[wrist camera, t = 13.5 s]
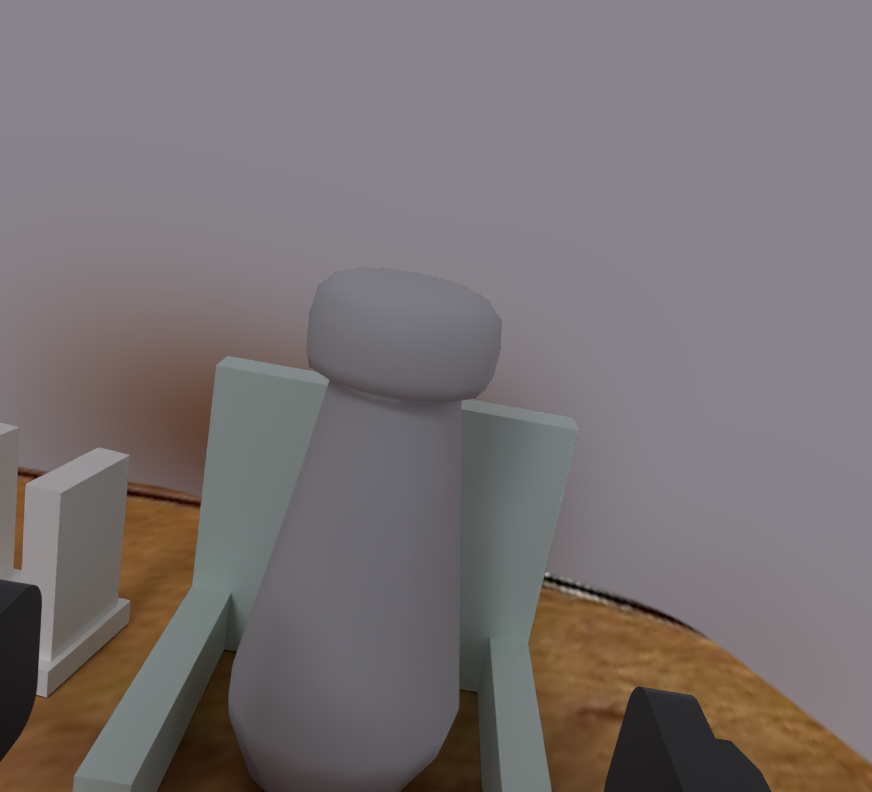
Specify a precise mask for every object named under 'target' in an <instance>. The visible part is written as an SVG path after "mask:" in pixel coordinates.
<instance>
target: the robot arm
mask: <svg viewBox="0 0 872 792" xmlns="http://www.w3.org/2000/svg"><path fill="white" fill-rule="evenodd" d="M41 612H42V595H41V591H40V589H39V587H38V586H36V585H31V584H25V583H19V582H13V581H7V580H1V579H0V762H1V760H2V759H3V758H4V756H5V755H6V754H7V752H8V751H9V750H10V748H11V747H12V746H13V744H14V743H15V742H16V740H17V739H18V737H19V736H20V734H21V733H22V731H23V729H24V727H25V725H26V723H27V721H28V719H29V716H30V714H31V711H32V708H33V705H34V701H35V697H36V692H37V684H38V667H39V648H40V630H41ZM604 792H771V790H770V788H769V786H768V784H767V783H766V781H765V779H764V777H763V775H762V773H761V771H760V770H759V769H758V768H757V767H756V766H755V765H754V764H753V763H752V762H751V761H750V760H749V759H748V758H747V757H746V756H745V755H744V754H743V753H742V752H741V751H740V750H739V749H738V748H737V747H736V746H735V745H734V744H733V743H732V742H731V741H728V740H722V739H716V738H715V737H714V735H713V733H712V730H711V728H710V726H709V724H708V722H707V720H706V718H705V716H704V714H703V711H702V709H701V707H700V705H699V703H698V701H697V700H696V698H695V697H694V696H692V695H687V694H681V693H675V692H669V691H663V690H657V689H651V688H645V687H636V688H635V689H634V690H633V692H632V694H631V696H630V698H629V701H628V705H627V708H626V712H625V715H624V719H623V722H622V726H621V729H620V733H619V736H618V740H617V743H616V747H615V750H614V754H613V757H612V761H611V764H610V768H609V771H608V775H607V779H606V783H605V789H604Z"/></svg>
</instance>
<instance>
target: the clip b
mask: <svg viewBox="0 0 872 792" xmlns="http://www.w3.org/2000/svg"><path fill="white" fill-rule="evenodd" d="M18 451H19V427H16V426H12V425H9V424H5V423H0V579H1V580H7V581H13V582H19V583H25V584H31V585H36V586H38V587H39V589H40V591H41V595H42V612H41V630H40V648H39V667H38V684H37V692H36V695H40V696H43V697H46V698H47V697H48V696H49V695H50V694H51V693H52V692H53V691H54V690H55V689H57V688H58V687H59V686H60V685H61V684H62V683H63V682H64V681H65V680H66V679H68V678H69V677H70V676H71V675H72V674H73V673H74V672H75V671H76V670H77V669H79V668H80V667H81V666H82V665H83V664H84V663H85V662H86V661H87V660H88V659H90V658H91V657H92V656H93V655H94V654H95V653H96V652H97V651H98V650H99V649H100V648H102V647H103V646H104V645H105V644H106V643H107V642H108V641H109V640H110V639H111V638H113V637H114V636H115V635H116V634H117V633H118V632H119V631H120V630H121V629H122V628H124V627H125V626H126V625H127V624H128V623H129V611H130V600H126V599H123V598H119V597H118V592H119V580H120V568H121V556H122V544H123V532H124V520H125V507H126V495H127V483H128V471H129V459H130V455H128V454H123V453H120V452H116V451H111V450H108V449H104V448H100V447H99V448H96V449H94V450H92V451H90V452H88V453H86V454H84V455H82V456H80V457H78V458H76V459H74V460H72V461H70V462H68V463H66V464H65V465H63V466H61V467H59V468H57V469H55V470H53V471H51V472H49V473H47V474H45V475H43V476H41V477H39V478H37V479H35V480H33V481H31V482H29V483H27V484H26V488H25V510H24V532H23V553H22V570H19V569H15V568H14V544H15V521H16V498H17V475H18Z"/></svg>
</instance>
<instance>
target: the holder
mask: <svg viewBox="0 0 872 792" xmlns="http://www.w3.org/2000/svg"><path fill="white" fill-rule="evenodd" d="M328 383H329V379H327V378H326V377H324V376H323V375H321V374H320V373H318V372H315V371H309V370H304V369H297V368H292V367H287V366H281V365H276V364H270V363H265V362H259V361H253V360H247V359H242V358H237V357H231V356H227V357H226V358H225V359H223V360H222V361H221V362H220V363H219V364H217V365H216V373H215V382H214V391H213V401H212V409H211V418H210V427H209V436H208V446H207V456H206V464H205V473H204V482H203V492H202V500H201V509H200V518H199V527H198V536H197V545H196V555H195V564H194V573H193V582H192V587H191V589H190V590H189V592H188V593H187V595H186V597H185V598H184V600H183V601H182V603H181V605H180V606H179V608H178V609H177V611H176V613H175V614H174V616H173V617H172V619H171V621H170V622H169V624H168V626H167V627H166V629H165V630H164V632H163V634H162V635H161V637H160V638H159V640H158V642H157V643H156V645H155V646H154V648H153V650H152V651H151V653H150V654H149V656H148V658H147V659H146V661H145V663H144V664H143V666H142V667H141V669H140V671H139V672H138V674H137V675H136V677H135V679H134V680H133V682H132V683H131V685H130V687H129V688H128V690H127V691H126V693H125V695H124V696H123V698H122V700H121V701H120V703H119V704H118V706H117V708H116V709H115V711H114V712H113V714H112V716H111V717H110V719H109V720H108V722H107V724H106V725H105V727H104V728H103V730H102V732H101V733H100V735H99V736H98V738H97V740H96V741H95V743H94V745H93V746H92V748H91V749H90V751H89V753H88V754H87V756H86V757H85V759H84V761H83V762H82V764H81V765H80V767H79V769H78V770H77V772H76V773H75V775H74V783H73V792H157V790H158V788H159V786H160V784H161V782H162V780H163V778H164V776H165V773H166V771H167V769H168V767H169V765H170V763H171V761H172V759H173V757H174V754H175V752H176V750H177V748H178V746H179V744H180V742H181V740H182V738H183V735H184V733H185V731H186V729H187V727H188V725H189V723H190V721H191V718H192V716H193V714H194V712H195V710H196V708H197V706H198V704H199V702H200V699H201V697H202V695H203V693H204V691H205V689H206V687H207V685H208V683H209V680H210V678H211V676H212V674H213V672H214V670H215V668H216V666H217V664H218V661H219V659H220V657H221V655H222V653H223V651H224V650H230V651H236V652H237V650H238V648H239V645H240V642H241V639H242V636H243V633H244V630H245V628H246V625H247V622H248V619H249V616H250V613H251V610H252V608H253V605H254V602H255V599H256V596H257V593H258V591H259V588H260V585H261V582H262V579H263V576H264V573H265V571H266V568H267V565H268V562H269V559H270V556H271V554H272V551H273V548H274V545H275V542H276V539H277V536H278V534H279V531H280V528H281V525H282V522H283V519H284V516H285V514H286V511H287V508H288V505H289V502H290V499H291V497H292V494H293V491H294V488H295V485H296V482H297V479H298V477H299V474H300V470H301V467H302V464H303V461H304V458H305V455H306V452H307V449H308V445H309V442H310V439H311V436H312V433H313V430H314V427H315V423H316V420H317V417H318V414H319V411H320V408H321V405H322V401H323V398H324V395H325V392H326V389H327V386H328ZM578 433H579V429H578V427H577V425H576V423H575V421H574V419H573V418H571V417H565V416H560V415H554V414H548V413H543V412H537V411H532V410H527V409H521V408H515V407H510V406H504V405H498V404H493V403H488V402H482V401H476V400H471V399H468V400H462V407H461V532H460V658H459V689H462V690H468V691H474V692H477V699H478V720H479V740H480V761H481V781H482V792H552V790H551V784H550V777H549V771H548V765H547V759H546V752H545V746H544V740H543V734H542V728H541V721H540V715H539V709H538V703H537V696H536V690H535V684H534V678H533V672H532V665H531V659H530V653H529V647H528V641H529V637H530V633H531V629H532V624H533V620H534V616H535V612H536V608H537V604H538V600H539V595H540V591H541V587H542V583H543V579H544V575H545V570H546V566H547V562H548V558H549V554H550V550H551V546H552V541H553V537H554V533H555V529H556V525H557V521H558V517H559V512H560V508H561V504H562V500H563V496H564V492H565V487H566V483H567V479H568V475H569V471H570V467H571V463H572V458H573V454H574V450H575V446H576V442H577V438H578Z"/></svg>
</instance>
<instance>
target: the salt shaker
mask: <svg viewBox="0 0 872 792" xmlns="http://www.w3.org/2000/svg"><path fill="white" fill-rule="evenodd" d="M501 324H502V320H501V319H500V317H499V316H498V314H497V313H496V311H495V310H494V308H493V307H492V305H491V304H490V302H489V301H488V300H487V299H485V298H484V297H483V296H481V295H480V294H478V293H476V292H474V291H472V290H470V289H468V288H466V287H464V286H462V285H459V284H457V283H453V282H451V281H448V280H444V279H440V278H436V277H433V276H429V275H423V274H418V273H412V272H407V271H400V270H393V269H385V268H358V269H351V270H345V271H340V272H335V273H334V274H332V275H331V276H330V277H328V278H327V279H326V280H325V281H323V282H322V283H321V284H320V285H318V288H317V292H316V295H315V298H314V301H313V304H312V307H311V310H310V314H309V324H308V336H307V356H308V361H309V367H311V368H312V369H314V370H315V371H317V372H318V373H320V374H321V375H323V376H324V377H326V378H327V379H329V383H328V386H327V389H326V392H325V395H324V398H323V401H322V405H321V408H320V411H319V414H318V417H317V420H316V423H315V427H314V430H313V433H312V436H311V439H310V442H309V445H308V449H307V452H306V455H305V458H304V461H303V464H302V467H301V470H300V474H299V477H298V479H297V482H296V485H295V488H294V491H293V494H292V497H291V499H290V502H289V505H288V508H287V511H286V514H285V516H284V519H283V522H282V525H281V528H280V531H279V534H278V536H277V539H276V542H275V545H274V548H273V551H272V554H271V556H270V559H269V562H268V565H267V568H266V571H265V573H264V576H263V579H262V582H261V585H260V588H259V591H258V593H257V596H256V599H255V602H254V605H253V608H252V610H251V613H250V616H249V619H248V622H247V625H246V628H245V630H244V633H243V636H242V639H241V642H240V645H239V648H238V650H237V653H236V656H235V659H234V662H233V665H232V673H231V680H230V687H229V695H228V707H229V718H230V721H231V724H232V727H233V729H234V732H235V735H236V738H237V741H238V744H239V746H240V749H241V752H242V755H243V758H244V761H245V764H246V766H247V769H248V772H249V775H250V777H251V778H252V779H253V780H254V781H255V782H256V783H257V784H258V785H259V786H260V787H261V788H262V789H263V790H264V791H265V792H401V791H402V790H403V789H404V788H405V787H406V786H407V785H408V784H409V783H410V782H411V781H412V780H413V779H414V778H415V777H416V776H417V775H418V774H419V773H420V772H422V771H423V770H424V769H425V768H426V767H427V766H428V765H429V764H430V763H431V762H432V761H433V760H434V759H435V758H436V757H437V755H438V753H439V751H440V749H441V747H442V745H443V743H444V741H445V739H446V736H447V734H448V732H449V730H450V728H451V726H452V724H453V722H454V719H455V717H456V715H457V712H458V710H459V658H460V532H461V407H462V400H468V399H474V398H476V397H477V396H479V395H480V394H481V393H482V392H483V391H484V390H485V389H486V388H487V386H488V384H489V383H490V381H491V379H492V378H493V376H494V372H495V368H496V364H497V361H498V358H499V354H500V351H501Z"/></svg>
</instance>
